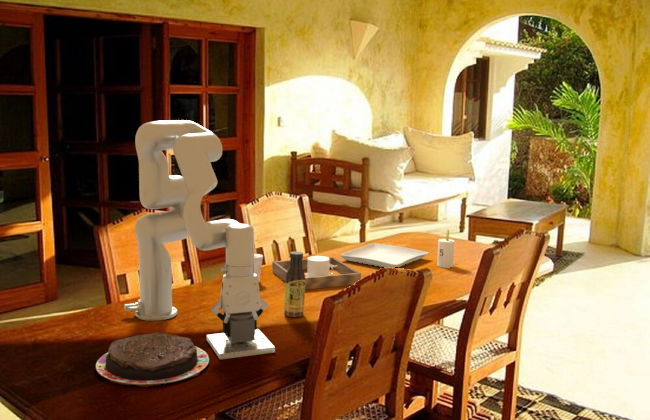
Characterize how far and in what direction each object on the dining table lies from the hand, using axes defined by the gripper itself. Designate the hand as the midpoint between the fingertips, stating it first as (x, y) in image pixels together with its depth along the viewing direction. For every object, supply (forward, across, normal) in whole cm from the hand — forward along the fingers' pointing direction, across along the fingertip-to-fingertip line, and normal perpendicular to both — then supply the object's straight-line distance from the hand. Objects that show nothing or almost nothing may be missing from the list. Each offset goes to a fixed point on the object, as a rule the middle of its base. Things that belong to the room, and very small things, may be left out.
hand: (239, 333), depth 192 cm
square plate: (+4, +82, +74) cm, 110 cm away
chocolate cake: (+4, -24, -5) cm, 25 cm away
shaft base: (+4, 0, 0) cm, 4 cm away
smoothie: (+4, +22, +60) cm, 64 cm away
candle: (+4, +101, +58) cm, 116 cm away
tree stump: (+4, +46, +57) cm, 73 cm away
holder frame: (+4, +45, +58) cm, 73 cm away
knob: (+1, 0, 0) cm, 1 cm away
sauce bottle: (+4, +23, +20) cm, 31 cm away
